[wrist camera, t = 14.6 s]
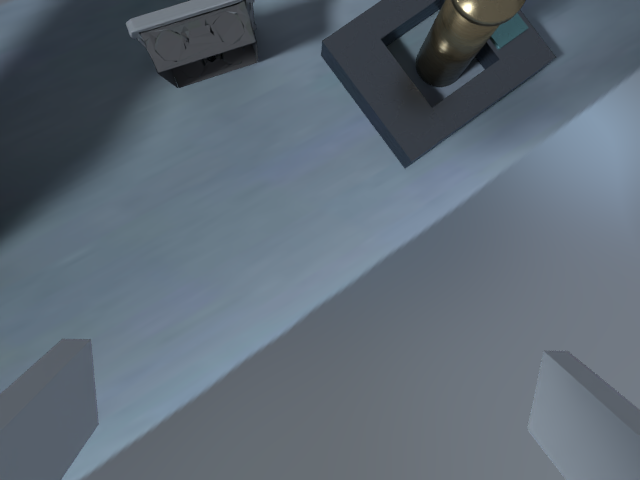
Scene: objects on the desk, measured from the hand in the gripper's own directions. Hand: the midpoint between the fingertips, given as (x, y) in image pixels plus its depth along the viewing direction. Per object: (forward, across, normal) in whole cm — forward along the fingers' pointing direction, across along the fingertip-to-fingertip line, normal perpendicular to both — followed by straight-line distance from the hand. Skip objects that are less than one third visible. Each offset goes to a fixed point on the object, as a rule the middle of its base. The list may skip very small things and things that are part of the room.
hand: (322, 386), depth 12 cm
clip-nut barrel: (+31, +12, +14) cm, 36 cm away
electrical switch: (+31, -9, +12) cm, 35 cm away
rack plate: (+31, +11, +14) cm, 35 cm away
